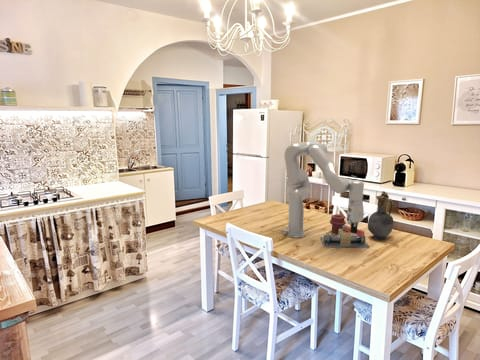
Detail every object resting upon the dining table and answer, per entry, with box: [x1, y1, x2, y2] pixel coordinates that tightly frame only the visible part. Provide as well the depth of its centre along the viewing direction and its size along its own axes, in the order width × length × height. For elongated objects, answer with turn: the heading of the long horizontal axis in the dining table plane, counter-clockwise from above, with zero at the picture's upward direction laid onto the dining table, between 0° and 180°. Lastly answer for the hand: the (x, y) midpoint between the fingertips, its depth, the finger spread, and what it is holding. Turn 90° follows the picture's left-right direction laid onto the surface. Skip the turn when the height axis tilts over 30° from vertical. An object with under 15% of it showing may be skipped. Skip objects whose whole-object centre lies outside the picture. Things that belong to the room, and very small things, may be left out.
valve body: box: [320, 229, 371, 249], centre depth 195 cm, size 26×14×8 cm, turn 87°
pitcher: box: [367, 190, 394, 241], centre depth 202 cm, size 11×19×30 cm, turn 124°
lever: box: [342, 224, 365, 237], centre depth 190 cm, size 14×3×3 cm, turn 35°
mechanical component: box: [329, 213, 347, 235], centre depth 212 cm, size 12×10×10 cm
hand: (353, 232), depth 186 cm, fingers closed
